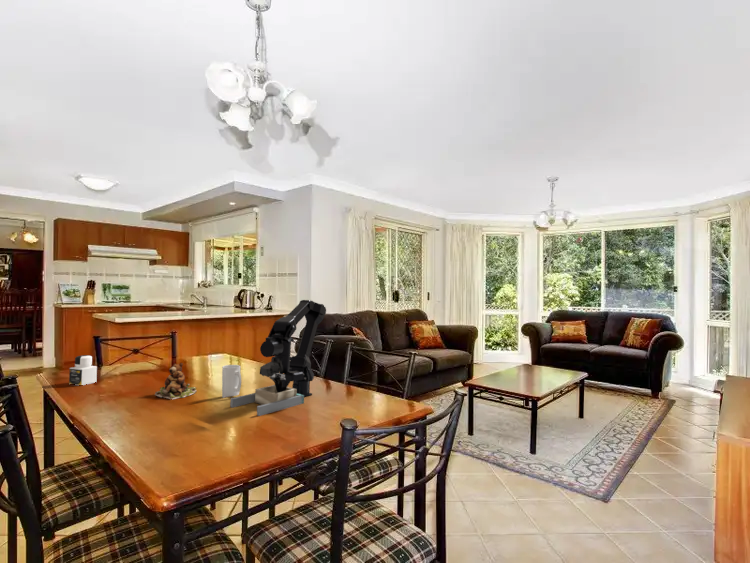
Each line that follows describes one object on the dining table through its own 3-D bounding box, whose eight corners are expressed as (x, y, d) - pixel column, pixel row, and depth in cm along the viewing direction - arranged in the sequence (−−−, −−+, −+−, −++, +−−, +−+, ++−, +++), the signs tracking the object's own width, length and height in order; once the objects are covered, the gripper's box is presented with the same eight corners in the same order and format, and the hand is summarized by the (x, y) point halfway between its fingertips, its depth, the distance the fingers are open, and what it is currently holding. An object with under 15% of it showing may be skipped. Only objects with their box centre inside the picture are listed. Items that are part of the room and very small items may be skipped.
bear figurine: (146, 398, 160) (147, 366, 160) (174, 389, 174) (175, 360, 175) (175, 401, 156) (176, 368, 156) (202, 392, 171) (203, 362, 171)
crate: (276, 397, 159) (276, 384, 160) (296, 402, 153) (296, 389, 153) (255, 402, 151) (255, 389, 152) (274, 408, 145) (275, 394, 145)
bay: (275, 398, 162) (275, 388, 162) (303, 406, 153) (304, 395, 153) (230, 409, 146) (230, 398, 146) (259, 419, 136) (259, 407, 137)
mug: (218, 397, 162) (218, 366, 163) (233, 393, 168) (234, 364, 168) (232, 402, 156) (233, 370, 156) (247, 398, 161) (248, 367, 161)
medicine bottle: (68, 384, 178) (69, 356, 178) (84, 381, 184) (85, 354, 185) (81, 386, 176) (82, 357, 176) (96, 382, 182) (97, 355, 182)
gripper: (248, 353, 154) (246, 395, 153) (282, 359, 143) (279, 405, 142) (272, 351, 163) (270, 391, 162) (306, 356, 151) (303, 399, 151)
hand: (280, 396), depth 154 cm, fingers closed, pressing on crate
